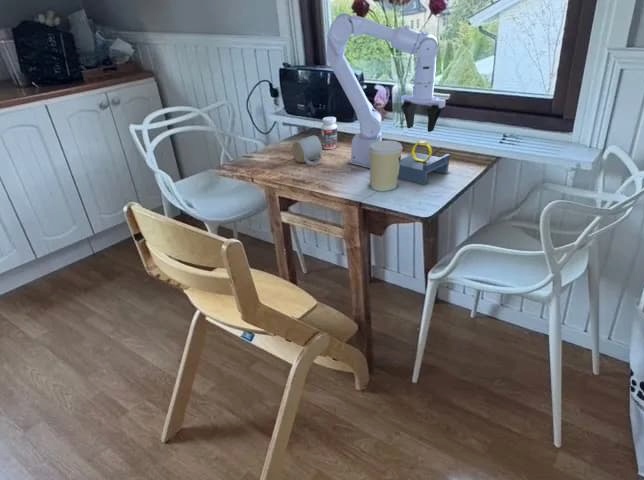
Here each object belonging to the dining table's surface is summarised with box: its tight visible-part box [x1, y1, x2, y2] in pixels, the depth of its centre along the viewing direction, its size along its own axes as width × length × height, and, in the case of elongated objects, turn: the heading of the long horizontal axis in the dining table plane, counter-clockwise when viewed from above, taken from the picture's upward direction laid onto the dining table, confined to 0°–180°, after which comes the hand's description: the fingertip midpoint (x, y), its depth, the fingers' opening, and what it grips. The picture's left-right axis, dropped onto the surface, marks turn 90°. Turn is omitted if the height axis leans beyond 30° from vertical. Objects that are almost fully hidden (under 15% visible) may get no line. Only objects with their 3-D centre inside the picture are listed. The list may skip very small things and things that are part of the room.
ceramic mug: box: [291, 134, 323, 167], centre depth 176 cm, size 11×8×8 cm
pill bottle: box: [320, 116, 338, 150], centre depth 185 cm, size 6×6×10 cm
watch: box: [411, 139, 433, 162], centre depth 156 cm, size 6×3×6 cm, turn 49°
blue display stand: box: [398, 152, 451, 185], centre depth 158 cm, size 12×12×6 cm
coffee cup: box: [369, 140, 403, 192], centre depth 152 cm, size 9×9×12 cm
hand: (420, 129), depth 162 cm, fingers open, 7 cm apart
